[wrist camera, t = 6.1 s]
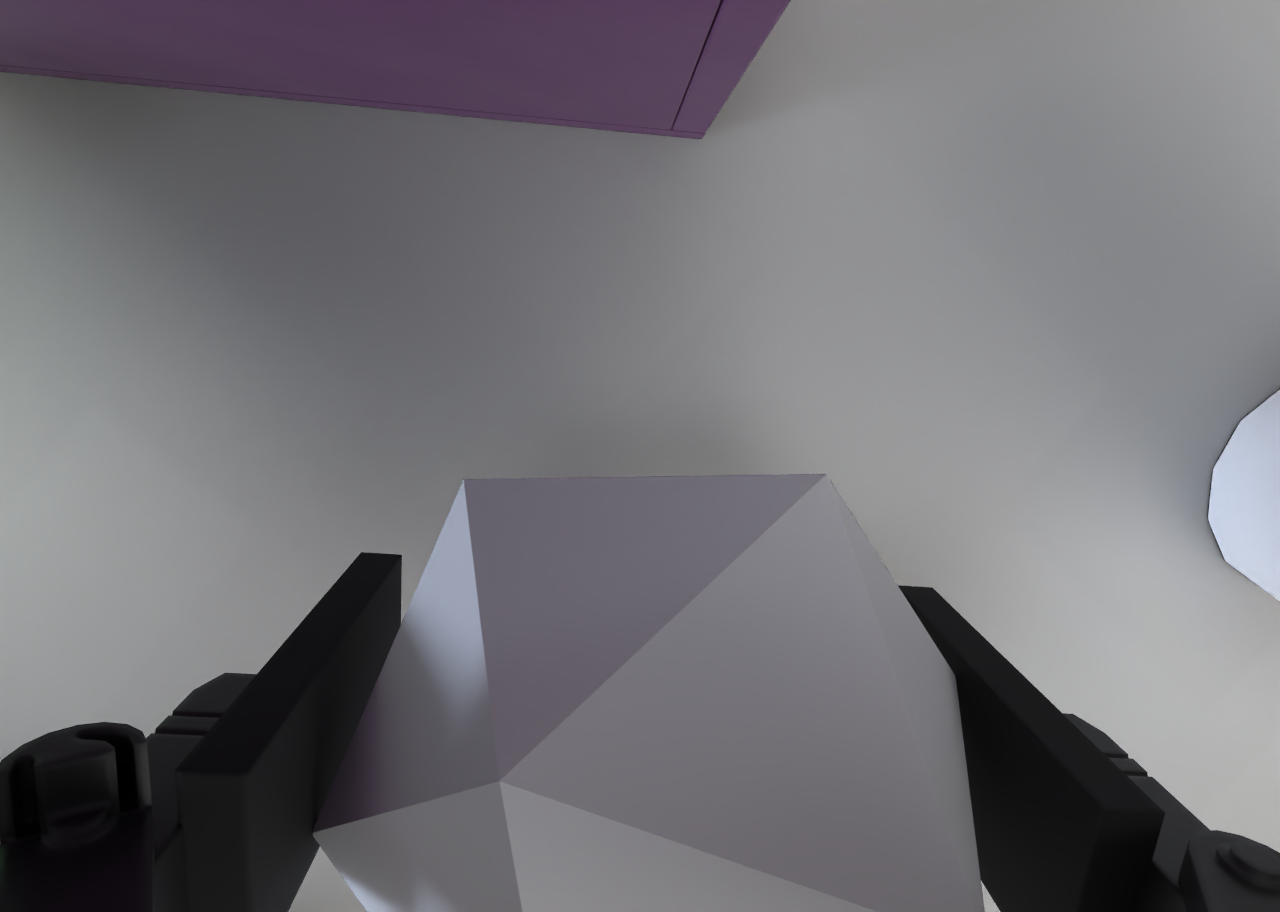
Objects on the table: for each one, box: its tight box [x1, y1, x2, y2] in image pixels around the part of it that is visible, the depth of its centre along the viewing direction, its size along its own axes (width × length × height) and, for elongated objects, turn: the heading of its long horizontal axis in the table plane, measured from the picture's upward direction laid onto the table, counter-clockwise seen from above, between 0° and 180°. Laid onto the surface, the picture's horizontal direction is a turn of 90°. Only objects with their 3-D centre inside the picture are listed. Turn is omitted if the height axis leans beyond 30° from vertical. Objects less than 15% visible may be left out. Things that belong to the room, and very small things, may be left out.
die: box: [313, 474, 985, 912], centre depth 12 cm, size 8×9×10 cm
